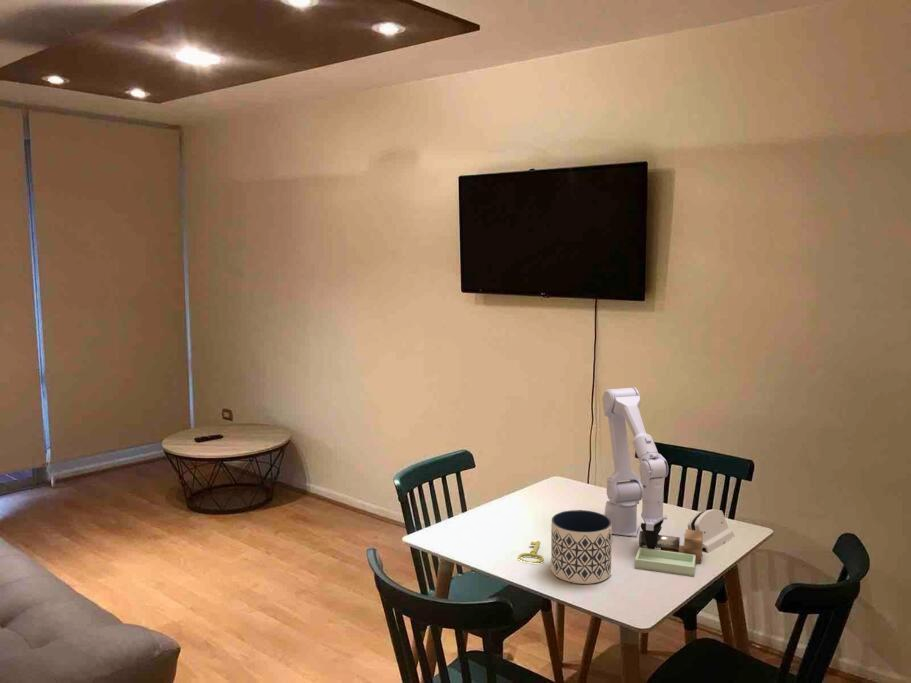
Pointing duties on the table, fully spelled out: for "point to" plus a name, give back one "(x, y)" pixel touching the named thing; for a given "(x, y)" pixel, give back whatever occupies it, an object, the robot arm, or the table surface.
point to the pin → (662, 541)
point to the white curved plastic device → (711, 528)
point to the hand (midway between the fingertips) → (651, 545)
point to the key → (533, 553)
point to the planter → (581, 546)
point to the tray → (665, 561)
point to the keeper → (691, 544)
